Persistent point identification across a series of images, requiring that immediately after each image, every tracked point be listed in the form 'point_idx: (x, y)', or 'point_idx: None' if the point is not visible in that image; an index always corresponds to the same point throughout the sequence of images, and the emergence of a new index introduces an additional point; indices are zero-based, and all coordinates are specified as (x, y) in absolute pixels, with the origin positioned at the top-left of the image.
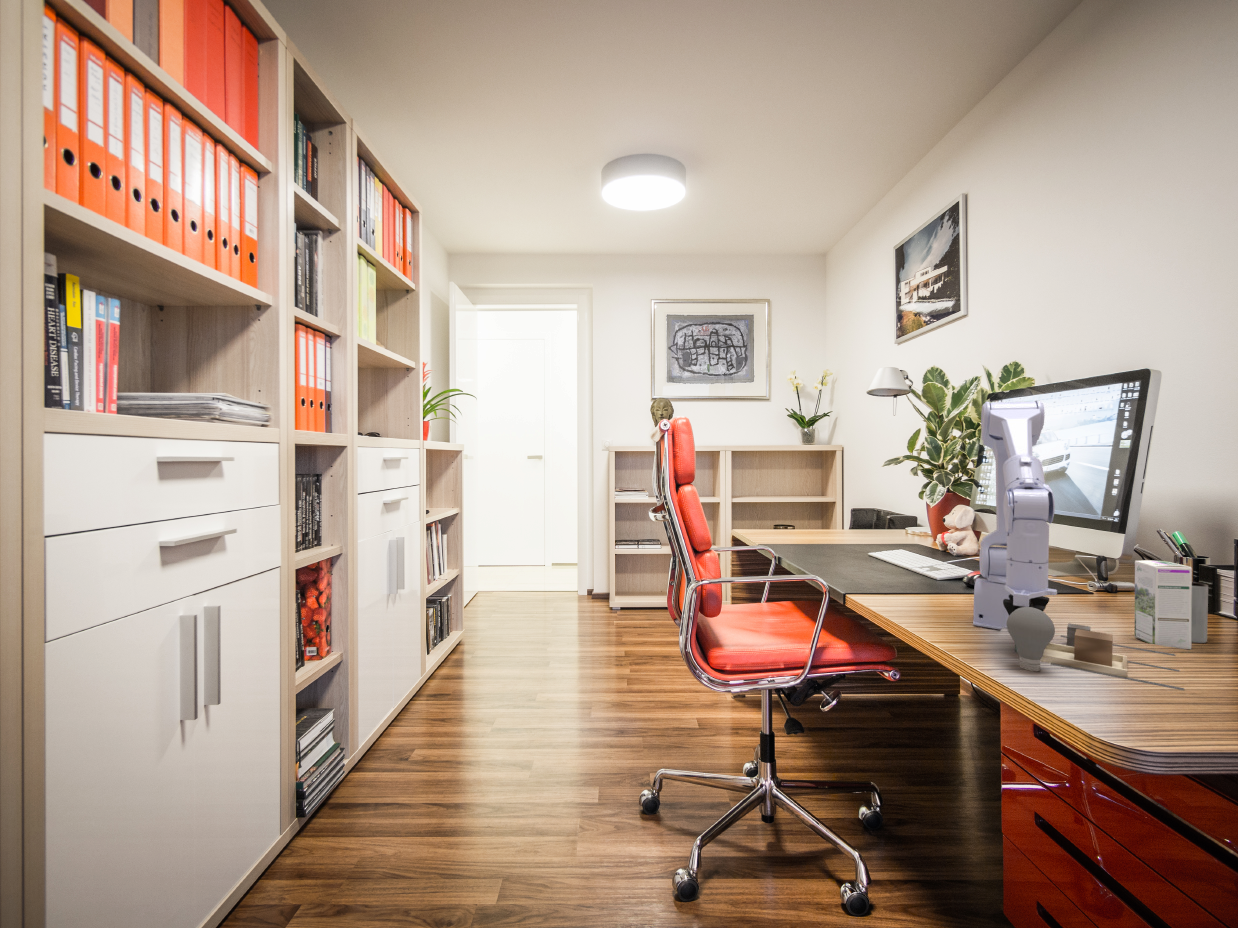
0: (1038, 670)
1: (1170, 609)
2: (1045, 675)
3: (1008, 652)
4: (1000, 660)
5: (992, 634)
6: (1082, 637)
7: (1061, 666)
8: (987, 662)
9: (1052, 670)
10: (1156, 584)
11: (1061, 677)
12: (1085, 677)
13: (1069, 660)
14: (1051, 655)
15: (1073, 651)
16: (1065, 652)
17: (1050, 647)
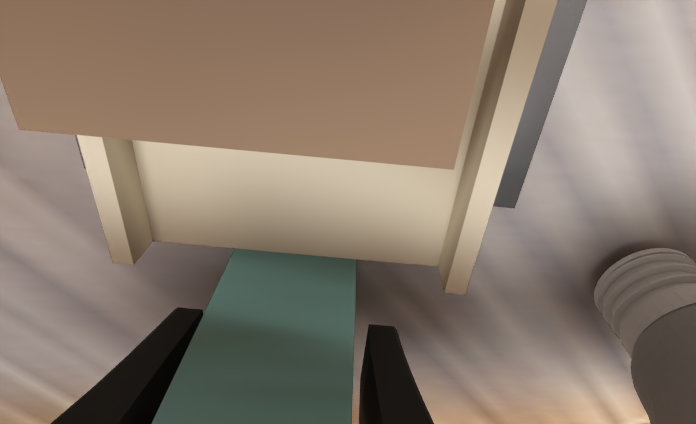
0: (693, 262)
1: None
2: (654, 215)
3: None
4: (474, 361)
5: (37, 384)
6: (471, 69)
7: (530, 152)
8: (535, 394)
9: (533, 183)
10: None
11: (665, 144)
12: (609, 4)
13: (513, 120)
14: (294, 195)
15: None
16: None
17: (135, 203)
